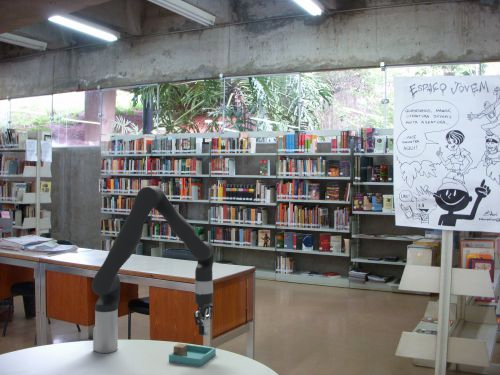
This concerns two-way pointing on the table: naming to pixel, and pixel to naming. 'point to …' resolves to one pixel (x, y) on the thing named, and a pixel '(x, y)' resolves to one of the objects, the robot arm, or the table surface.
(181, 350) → the walnut block
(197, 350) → the parts tray
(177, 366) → the table surface
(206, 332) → the metal cylinder
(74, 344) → the table surface
